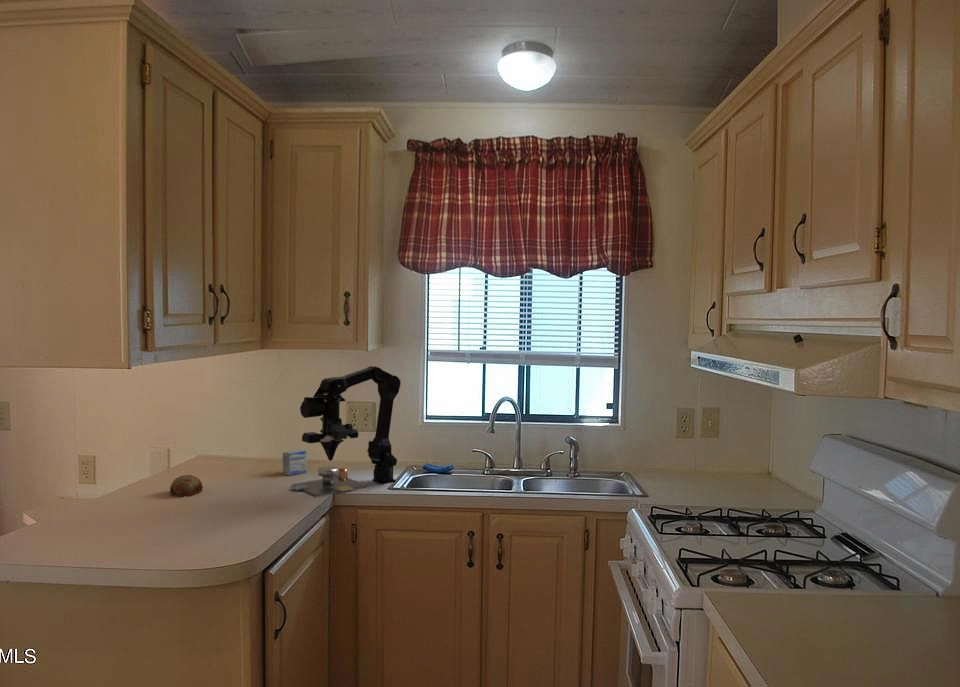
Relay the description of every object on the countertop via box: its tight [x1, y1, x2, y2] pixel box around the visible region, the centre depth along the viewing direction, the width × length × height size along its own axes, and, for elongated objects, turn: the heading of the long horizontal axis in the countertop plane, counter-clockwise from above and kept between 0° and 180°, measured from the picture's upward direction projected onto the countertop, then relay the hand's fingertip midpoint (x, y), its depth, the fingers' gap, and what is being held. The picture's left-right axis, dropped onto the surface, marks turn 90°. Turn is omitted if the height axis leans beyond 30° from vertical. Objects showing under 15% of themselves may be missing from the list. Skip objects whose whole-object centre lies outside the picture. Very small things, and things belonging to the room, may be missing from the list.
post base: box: [289, 476, 368, 498], centre depth 219 cm, size 22×20×3 cm
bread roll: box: [169, 474, 204, 498], centre depth 209 cm, size 10×10×8 cm
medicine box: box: [282, 449, 307, 477], centre depth 239 cm, size 8×4×9 cm, turn 143°
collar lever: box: [317, 466, 348, 481], centre depth 220 cm, size 16×7×4 cm, turn 41°
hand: (330, 460), depth 211 cm, fingers closed
